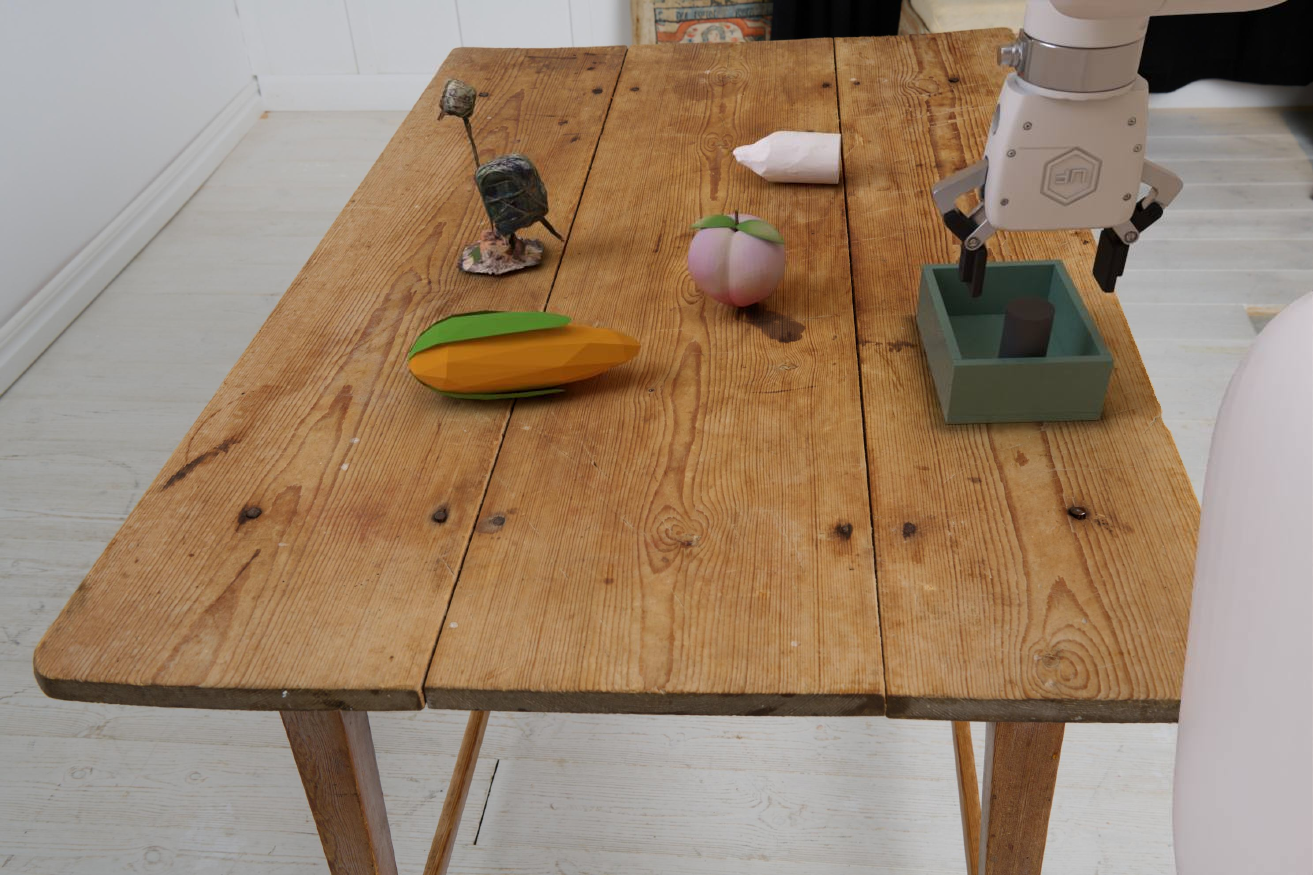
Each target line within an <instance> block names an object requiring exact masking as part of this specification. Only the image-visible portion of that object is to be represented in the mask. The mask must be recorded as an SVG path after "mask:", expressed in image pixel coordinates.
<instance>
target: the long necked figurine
mask: <svg viewBox="0 0 1313 875" xmlns="http://www.w3.org/2000/svg"><path fill="white" fill-rule="evenodd" d="M477 94H478V92H477V89H476V88H475V87H473V86H471V85H469V84H467V83H466V82H464V81H462V80H459V79H457V78H454V77H451V78H447V79H446V81H445V83H444V86H443V88H442V91H441V94H440V96H439V101H438V108H440V111H439V115H438V116H437V118H436V120H437V121H439V122H440V121H442V120H443V119H444V118H445V116H452V117H453V116H456V117H457V118H461V119H462V121H463V124H464V128H465V131H466V133H467V137H468V139H469V140H470V144H471V150H472V153H473V157H474V162H475V165H476V169H475V170H474V176H473V180H474V182H475V185H476V187H477V190H478V192H479V195H480V197H481V201H482V203H483V207H484V209H485V212H486V215H487V216H488V219H489V221H490V222H489V223H490V227H491V228H488V229H487V228H486V229H482V230H481V234H480V237H481V240H478V241H474V242H473V243H471V244H465V245H464V247H465V248H463V249H462V251H463V252H462V253H461V254H462V255H460V256H459V257H460V258H459V260H458V262H457V263H456V264H457V265H455V268H456V269H458V270H460V271H464V272H465V271H466V272H471V273H481V274H483V273H485V274H487V273H488V274H489V275H492V273H494V275H495V276H499V275H501V274H503V273H507V272H510V271H515V270H519V269H523V268H525V267H526V266H527V267H530V266H536V265H539V264H540V261H541V260H542V259H543V258H542V257H541V256H543V249H545V247H544V245H543V243H542V241H541V240H540V239H539V238H536V239H534V238H533V239H532V238H523V237H520V236H517V235H516V233H517V232H518V231H519V230H521V229H528V228H530V227H531V226H533V225H534V224H535V223H538V222H540V223H541V224H542V226H543V227H544V228H545V229H546V230H547V231H548V232H549V233H550V234H551V235H552V236H554V237H555V238H556V239H557V240H559V241H560V242H562V243H565V242H566V238H565V235H563V234H561V232H558V231H557V230H556V229H555V227H554V226H553V225H552V224H551V223H550V221H548V219H547V218H546V216H547V215H548V214H549V212H550V210H549V209H550V208H549V201H548V198H549V197H548V191H547V188H546V186H545V184H544V181H543V180H542V178H541V175H540V174H539V172H538V169H537V167H536V165H535V163H534V162H533V160H531V158H530V157H528V156H527V155H524V154H523V153H520V152H514V153H510V154H506V155H503V156H497V157H494V158H492V159H490V160H488V161H487V162H486V163H483V164H480V159H479V158H480V157H479V152H478V150H477V145H476V142H475V140H474V137H473V130H472V125H471V122H470V118H471V117H472V116H473V114H474V111H475V106H476V100H477V96H478V95H477Z"/></svg>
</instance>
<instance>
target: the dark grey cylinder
mask: <svg viewBox="0 0 1313 875" xmlns="http://www.w3.org/2000/svg"><path fill="white" fill-rule="evenodd" d="M1054 316H1055V307H1054V306H1053V305H1052V304H1051V303H1050V302H1049V301H1047V300H1045V299H1042V298H1039V297H1034V296H1021V297H1016V298H1014V299H1012V300H1010V301H1009V302H1008V304H1007V307H1006V313H1005V319H1004V325H1003V331H1002V337H1001V343H1000V349H999V354H998V359H999V358H1031V357H1046V355H1047V350H1048V345H1049V340H1050V335H1051V330H1052V325H1053V320H1054Z"/></svg>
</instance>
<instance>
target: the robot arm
mask: <svg viewBox="0 0 1313 875" xmlns="http://www.w3.org/2000/svg"><path fill="white" fill-rule="evenodd" d="M1286 1H1288V0H1026V3H1025V4H1026V5H1025V12H1024V16H1023V17H1024V18H1023V25H1022V27H1021V28H1019V32H1018V36H1016V40H1015V41H1011V42H1010V43H1008V44H999V45H998V46H997V51H996V63H997V66H999V67H1001V66H1008V67H1009V68H1014V70H1015V71H1013V72H1010V73H1009V74H1007V75H1006V78H1005V80H1004V83H1003V85H1002V87H1001V91H1000V93H999V96H998V98H997V99H998V100H997V102H996V106H995V109H994V112H993V115H992V119H991V123H990V126H989V130H988V134H987V138H986V143H985V147H984V151H983V157H982V159H980V160H979V161H977V162H975V163H973V164H971V165H969V166H967V167H965V168H963V169H960V170H958V171H957V172H954V173H952V174H950V175H948V176H946V177H944V178H943V179H941V180H939V181H936V182H934V183H933V184H931V186H930V188H929V192H930V195H931V197H932V200H933V202H934V204H935V206H936V208H937V210H938V212H939V215H940V217H941V219H942V221H943V223H944V226H945V227H946V229H948V230H949V231H950V232H951V233H952V234H953V235H954V236H955V237H956V238H957V239H958V240H960V242H961V245H960V253H959V262H958V263H959V269H958V275H959V279H960V282H965V283H966V285H967V288H968V290H969V293H970V296H971V298H977V297H979V296H981V295H982V290H983V283H984V276H985V269H986V262H988V254H989V253H988V250H987V246H986V245H985V243H986V242H987V241H988V240H989V239H990V238H991V237H993V236H994V234H995V233H997V231H998V230H999V231H1002V232H1008V233H1011V232H1012V233H1022V232H1024V233H1027V232H1028V233H1030V232H1053V231H1054V232H1055V231H1079V230H1082V231H1083V230H1099V229H1101V230H1100V233H1099V238H1098V243H1097V249H1096V251H1095V257H1094V262H1093V266H1092V271H1091V272H1092V276H1093V278H1094V280H1095V281H1096V283H1097V284H1098V286H1099V288H1100V290H1101V291H1102V292H1104V293H1105V294H1113V293H1114V292H1115V289H1116V284H1117V280H1118V278H1121V277H1122V276H1123V274H1124V273H1125V269H1126V268H1125V267H1126V263H1127V259H1128V255H1129V250H1130V247H1131V245H1133V244H1135V243H1137V241H1138V240H1139V239H1140V234H1141V233H1143V232H1144V231H1146V229H1148V228H1149V227H1150V226H1152V225H1153V224H1154V223H1156V222H1157V221H1158V220H1159V219H1161V218H1162V217H1163V215H1164V210H1165V209H1166V207H1168V206H1170V204H1171V203H1172V202H1173V200H1174V199H1175V198H1176V197H1177V196H1178V194H1179V193H1180V192H1181V190H1182V189H1183V187H1184V182H1183V181H1182V179H1180V177H1179V176H1178V175H1177V174H1176V173H1175V172H1173V171H1171V170H1169V169H1167V168H1165V167H1163V166H1161V165H1159V164H1156V163H1154V162H1152V161H1150V160H1148V159H1146V158H1145V153H1146V143H1147V142H1146V141H1147V135H1148V134H1147V133H1148V120H1149V95H1150V94H1149V82H1148V80H1147V79H1146V78H1144V77H1142V76H1141V75H1140V74H1139V73H1138V71H1139V67H1140V62H1141V58H1142V52H1143V47H1144V43H1145V40H1146V33H1147V30H1148V26H1149V21H1150V17H1157V16H1159V17H1160V16H1175V15H1176V16H1177V15H1194V14H1195V15H1196V14H1198V15H1199V14H1214V13H1215V14H1216V13H1217V14H1219V13H1220V14H1221V13H1238V12H1249V11H1257V10H1262V9H1266V8H1270V7H1273V6H1276V5H1279V4H1282V3H1284V2H1286ZM1141 183H1143V184H1145V185H1147V186H1149V187H1151V188H1150V190H1149V191H1148V194H1147V195H1146V196H1144V197H1142V198H1141V199H1140V200H1138V197H1139V193H1140V187H1141ZM976 189H977V195H978V200H979V203H977V205H976V206H975V207H973V209H971V211H970V212H969V213H967V215H966V214H965V213H964V212H963V211H961V209H960V208H958V207H957V204H956V201H957V199H958V198H960V197H961V196H963V195H965V194H968V193H969V192H972V191H974V190H976ZM1202 488H1203V489H1202V496H1201V508H1200V518H1199V526H1198V535H1197V536H1198V537H1197V544H1196V555H1195V564H1194V575H1193V583H1192V594H1191V603H1190V610H1189V611H1190V613H1189V622H1188V631H1187V641H1186V648H1185V649H1186V650H1185V659H1184V668H1183V678H1182V687H1181V694H1180V705H1179V713H1178V721H1177V722H1178V724H1177V731H1176V732H1177V733H1176V743H1175V753H1174V754H1175V755H1174V767H1173V776H1172V777H1173V778H1172V779H1173V780H1172V795H1171V796H1172V801H1171V829H1172V830H1171V831H1172V842H1173V855H1174V865H1175V866H1174V867H1175V873H1176V875H1313V289H1311V291H1308V292H1307V293H1305V294H1304V295H1302V296H1301V297H1299V298H1297V299H1296V300H1294V301H1292V302H1291V303H1290V304H1288V305H1287V306H1285V307H1284V308H1283V309H1282V310H1280V311H1279V313H1277V314H1276V315H1275V316H1274V317H1273V318H1271V320H1270V321H1269V322H1268V323H1267V324H1266V325H1265V326H1264V328H1262V329H1261V331H1260V332H1259V333H1257V336H1256V337H1255V338H1254V340H1253V341H1252V343H1251V344H1250V345H1249V347H1248V348H1247V350H1246V351H1245V352H1244V354H1243V356H1242V358H1241V360H1240V361H1239V363H1238V365H1237V367H1236V368H1235V371H1234V372H1233V373H1232V376H1231V378H1230V380H1229V381H1228V384H1227V387H1226V389H1225V392H1224V394H1223V397H1222V399H1221V402H1220V405H1219V408H1218V411H1217V414H1216V419H1215V422H1214V427H1213V431H1212V433H1211V439H1210V445H1209V450H1208V457H1207V464H1206V470H1205V477H1204V482H1203V487H1202Z"/></svg>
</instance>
